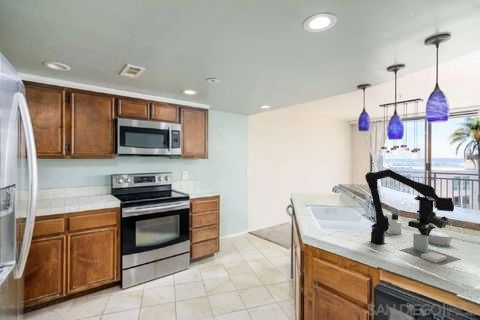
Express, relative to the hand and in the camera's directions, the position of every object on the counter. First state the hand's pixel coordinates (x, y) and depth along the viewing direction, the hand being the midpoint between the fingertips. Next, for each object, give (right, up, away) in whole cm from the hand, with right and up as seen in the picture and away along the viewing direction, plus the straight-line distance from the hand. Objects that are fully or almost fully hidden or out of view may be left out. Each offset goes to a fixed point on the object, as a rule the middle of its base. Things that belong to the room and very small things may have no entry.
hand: (425, 239), depth 121 cm
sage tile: (-3, -5, -1) cm, 6 cm away
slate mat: (-3, -6, -6) cm, 9 cm away
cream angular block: (-1, -4, -10) cm, 11 cm away
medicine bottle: (+2, -5, +29) cm, 29 cm away
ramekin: (+15, -6, +11) cm, 19 cm away
